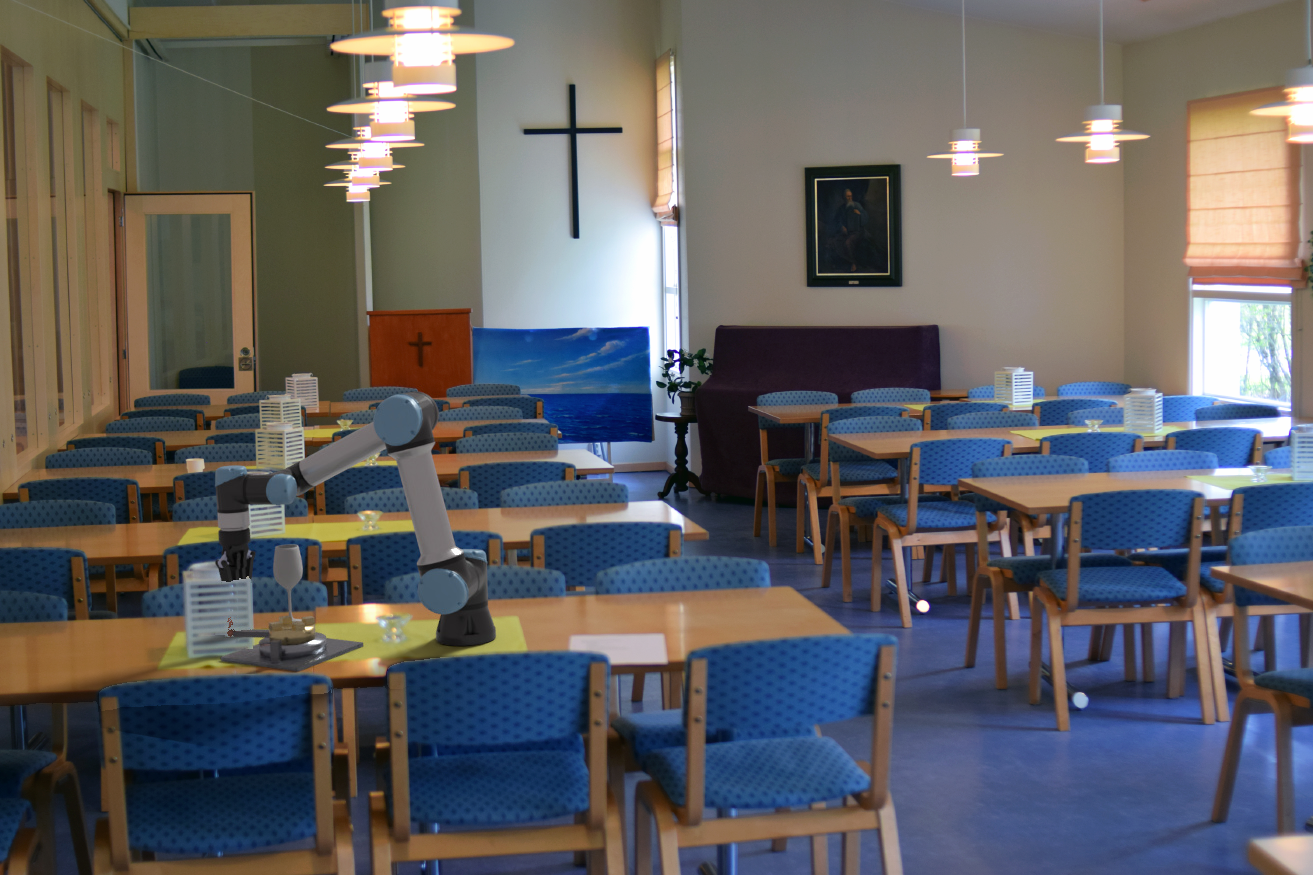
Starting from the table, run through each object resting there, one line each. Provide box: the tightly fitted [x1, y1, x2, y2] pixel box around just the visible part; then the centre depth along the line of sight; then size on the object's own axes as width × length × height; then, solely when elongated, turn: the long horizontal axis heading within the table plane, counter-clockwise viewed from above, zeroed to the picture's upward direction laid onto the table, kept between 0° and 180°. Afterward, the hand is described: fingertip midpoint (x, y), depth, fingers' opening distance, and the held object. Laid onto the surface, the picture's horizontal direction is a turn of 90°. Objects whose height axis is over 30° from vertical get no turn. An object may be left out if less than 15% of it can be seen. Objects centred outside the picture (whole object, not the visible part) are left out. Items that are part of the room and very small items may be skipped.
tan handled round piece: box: [227, 615, 317, 644], centre depth 323 cm, size 23×11×7 cm, turn 82°
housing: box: [220, 631, 364, 672], centre depth 322 cm, size 24×24×6 cm
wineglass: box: [272, 544, 304, 621], centre depth 353 cm, size 8×8×21 cm
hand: (239, 620), depth 328 cm, fingers closed
